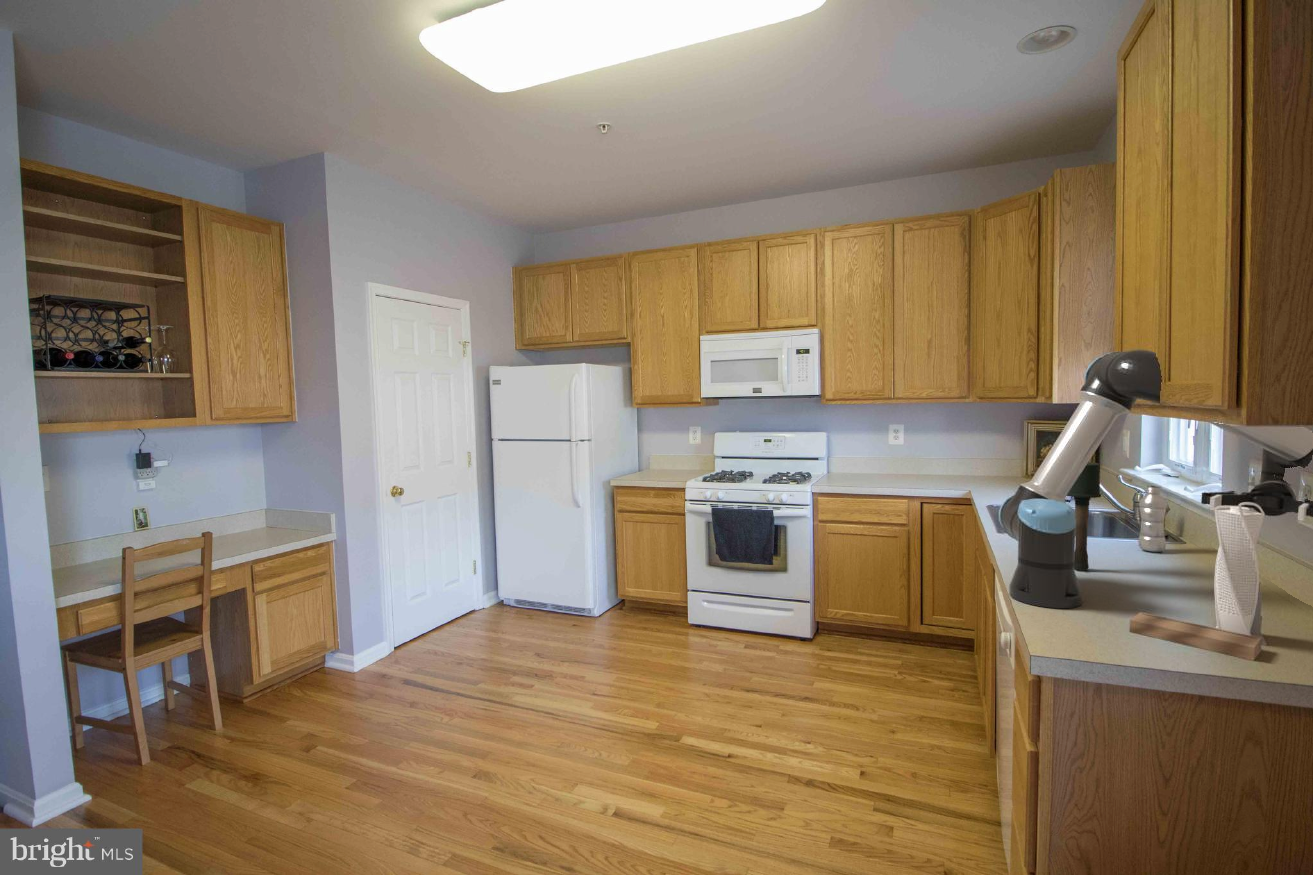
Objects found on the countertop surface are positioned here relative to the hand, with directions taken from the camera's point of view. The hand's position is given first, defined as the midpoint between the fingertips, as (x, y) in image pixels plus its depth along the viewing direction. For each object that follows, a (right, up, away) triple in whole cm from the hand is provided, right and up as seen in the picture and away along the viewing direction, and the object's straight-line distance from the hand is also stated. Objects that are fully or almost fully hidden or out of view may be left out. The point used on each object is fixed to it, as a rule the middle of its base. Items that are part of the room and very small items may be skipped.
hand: (1254, 508), depth 131 cm
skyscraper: (-8, -26, -4) cm, 27 cm away
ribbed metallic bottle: (+27, -20, +61) cm, 70 cm away
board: (-18, -26, -6) cm, 32 cm away
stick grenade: (-7, -22, +44) cm, 50 cm away
